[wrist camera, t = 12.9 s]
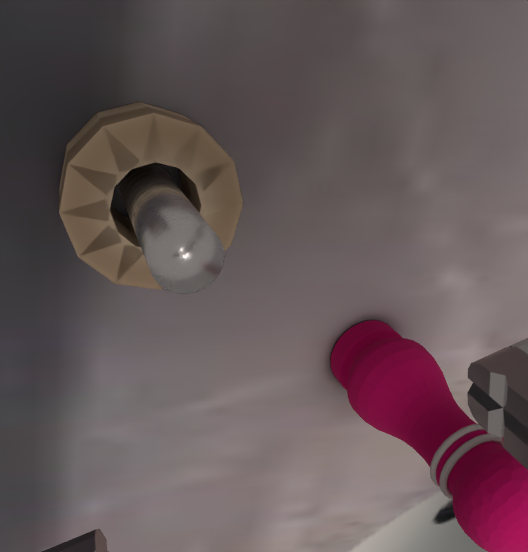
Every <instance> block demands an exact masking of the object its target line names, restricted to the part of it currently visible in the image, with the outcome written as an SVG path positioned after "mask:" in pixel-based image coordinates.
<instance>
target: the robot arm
mask: <svg viewBox="0 0 528 552" xmlns="http://www.w3.org/2000/svg"><path fill="white" fill-rule="evenodd" d="M468 378H469V379H470V380H471V381H472V382H473V384H472V386H471V388H470V389H469V391H468V406H469V408H470V410H471V413H472V415H473V417H474V418H475V420H476V421H477V422H478V424H479V425H480V426H481V427H482V428H483V429H484V430H485V431H486V432H487V433H490V434H493V435H496V436H499V437H501V438H502V443H503V448H505V449H506V450H507V451H508V452H509V453H510V454H511V455H512V456H513V457H514V458H515V459H516V460H518V461H519V462H520V463H521V464H522V465H523V466H524V467H525V468H526V469H527V470H528V338H527V339H525V340H522V341H520V342H518V343H516V344H513V345H511V346H509V347H506V348H503V349H501V350H499V351H497V352H495V353H493V354H490V355H488V356H486V357H484V358H482V359H479V360H477V361H475V362H473V363H471V365H470V366H469V368H468ZM42 552H108V551H107V541H106V538H105V536H104V535H103V533H102V532H101V530H100V529H96V530H93V531H91V532H89V533H86V534H84V535H81V536H79V537H76V538H74V539H72V540H69V541H67V542H64V543H62V544H59V545H57V546H55V547H52V548H50V549H47V550H45V551H42Z"/></svg>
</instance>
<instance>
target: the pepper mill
mask: <svg viewBox="0 0 528 552" xmlns="http://www.w3.org/2000/svg"><path fill="white" fill-rule="evenodd" d="M331 370H332V372H333V374H334V376H335V377H336V378H337V380H338V381H339V382H340V383H341V384H342V386H343V387H344V388H345V389H346V390H347V393H348V399H349V402H350V404H351V406H352V408H353V409H354V410H355V411H356V413H357V414H358V415H359V416H360V417H361V418H362V419H363V420H364V421H365V422H367V423H368V424H370V425H371V426H373V427H374V428H376V429H378V430H380V431H382V432H385V433H387V434H390V435H392V436H394V437H397V438H399V439H401V440H403V441H404V442H406V443H407V444H408V445H410V446H411V447H413V448H414V449H415V450H416V451H417V452H418V453H419V454H420V455H421V456H422V457H423V458H424V460H425V461H426V462H427V464H428V465H429V466H430V475H431V479H432V481H433V482H434V483H435V484H436V485H437V486H439V487H440V489H441V491H442V492H443V494H444V495H445V496H447V497H448V498H451V499H453V509H454V513H455V516H456V519H457V521H458V523H459V525H460V526H461V527H462V529H463V530H464V532H465V533H466V534H467V535H468V536H469V537H470V538H471V539H472V540H473V541H474V542H475V543H476V544H477V545H478V546H480V547H481V548H483V549H485V550H486V551H488V552H528V470H527V469H526V468H525V467H524V466H523V465H522V464H521V463H520V462H519V461H518V460H516V459H515V458H514V457H513V456H512V455H511V454H510V453H509V452H508V451H507V450H506V449H505V448H503V443H502V438H501V437H499V436H496V435H493V434H490V433H487V432H486V431H485V430H484V429H483V428H482V427H481V426H480V425H479V424H476V423H475V422H474V421H472V420H471V419H470V418H469V417H468V416H467V415H466V414H465V413H464V412H463V411H462V410H461V409H460V407H459V406H458V405H457V403H456V402H455V400H454V398H453V396H452V394H451V392H450V390H449V388H448V385H447V383H446V380H445V378H444V375H443V373H442V371H441V369H440V367H439V366H438V364H437V362H436V361H435V359H434V358H433V357H432V355H431V354H430V353H429V352H428V351H427V350H426V349H425V348H424V347H423V346H422V345H420V344H419V343H417V342H415V341H413V340H409V339H404V338H402V337H401V336H400V335H399V334H398V333H397V332H396V331H395V330H394V329H392V328H391V327H390V326H389V325H388V324H386V323H384V322H381V321H376V320H372V321H365V322H362V323H359V324H357V325H355V326H353V327H352V328H350V329H349V330H347V331H346V332H345V333H344V334H343V335H342V336H341V337H340V338H339V340H338V341H337V343H336V345H335V346H334V349H333V352H332V354H331Z"/></svg>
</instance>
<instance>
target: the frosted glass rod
mask: <svg viewBox="0 0 528 552" xmlns="http://www.w3.org/2000/svg"><path fill="white" fill-rule="evenodd" d="M118 189H119V193H120V195H121V198H122V200H123V203H124V205H125V208H126V210H127V213H128V216H129V218H130V221H131V223H132V226H133V228H134V231H135V233H136V236H137V238H138V241H139V244H140V246H141V249H142V251H143V254H144V256H145V259H146V261H147V264H148V267H149V269H150V272H151V274H152V276H153V278H154V279H155V281H156V282H157V283H158V284H159V285H160V286H161V287H163V288H164V289H166V290H168V291H171V292H174V293H179V294H188V293H193V292H197V291H199V290H202V289H203V288H205V287H207V286H208V285H210V284H211V283H212V282H213V281H214V280H215V279H216V278H217V276H218V275H219V273H220V271H221V269H222V266H223V263H224V248H223V245H222V242H221V240H220V238H219V237H218V236H217V234H216V233H215V232H214V231H213V229H212V228H211V227H210V226H209V224H208V223H207V222H206V221H205V219H204V218H203V217H202V216H201V214H200V213H199V212H198V211H197V210H196V208H195V207H194V206H193V205H192V203H191V202H190V201H189V200H188V198H187V197H186V196H185V195H184V193H183V192H182V191H181V190H180V189H179V187H178V186H177V185H176V184H175V182H174V181H173V180H172V179H171V177H170V176H169V175H168V174H167V172H166V171H165V170H164V169H163V168H162V167H161V166H160V165H159V164H158V163H156V162H154V163H151V164H148V165H144V166H141V167H137V168H134V169H131V170H130V171H129V172H128V173H127V174H126V175H125V176H124V178H123V179H122V180H121V181H120V182H119V183H118Z"/></svg>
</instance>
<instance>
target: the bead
mask: <svg viewBox="0 0 528 552" xmlns="http://www.w3.org/2000/svg"><path fill="white" fill-rule="evenodd" d="M154 162H156V163H161V164H165V165H169V166H173V167H177V168H178V171H179V174H180V178H181V181H182V184H181V188H180V190H181V191H182V192H183V193H184V195H185V196H186V197H187V198H188V200H189V201H190V202H191V203H192V205H193V206H194V207H195V208H196V210H197V211H198V212H199V213H200V214H201V216H202V217H203V218H204V219H205V221H206V222H207V223H208V224H209V226H210V227H211V228H212V229H213V231H214V232H215V233H216V234H217V236H218V237H219V238H220V240H221V242H222V245H223V248H224V252H225V251H226V249H227V248H228V247H229V246H230V245H231V244H232V241H233V237H234V234H235V230H236V227H237V224H238V220H239V217H240V214H241V210H242V207H243V199H242V195H241V191H240V186H239V182H238V177H237V173H236V169H235V164H234V160H233V159H232V158H231V157H230V156H229V155H228V154H227V153H226V152H225V151H224V150H223V149H222V148H221V147H220V146H219V145H218V143H217V142H216V141H215V140H214V139H213V138H212V137H211V136H210V135H209V134H208V133H207V132H206V131H205V130H204V129H203V128H202V127H201V126H200V125H198V124H196V123H195V122H193V121H192V120H190V119H188V118H187V117H185V116H183V115H182V114H179V113H176V112H173V111H169V110H166V109H162V108H159V107H156V106H152V105H149V104H145V103H142V102H136V103H132V104H129V105H125V106H121V107H117V108H113V109H109V110H105V111H102V112H98V113H96V114H95V115H94V116H93V117H92V118H91V119H90V120H89V121H88V122H87V123H86V125H85V126H84V127H83V128H82V129H81V130H80V131H79V132H78V133H77V134H76V135H75V136H74V137H73V138H72V140H71V141H70V142H69V143H68V144H67V145H66V151H65V157H64V163H63V169H62V174H61V180H60V186H59V214H60V216H61V219H62V221H63V223H64V226H65V228H66V230H67V233H68V235H69V237H70V240H71V242H72V244H73V247H74V249H75V251H76V254H77V256H78V257H79V258H80V259H82V260H83V261H84V262H86V263H87V264H89V265H90V266H91V267H93V268H94V269H96V270H97V271H98V272H100V273H101V274H102V275H104V276H105V277H107V278H108V279H109V280H111V281H112V282H114V283H115V284H121V285H128V286H136V287H143V288H151V289H159V290H161V289H163V287H161V286H160V285H159V284H158V283H157V282H156V281H155V279H154V278H153V276H152V274H151V272H150V269H149V267H148V264H147V261H146V259H145V256H144V254H143V251H142V249H141V246H140V244H139V241H138V238H137V236H136V233H135V231H134V228H133V226H132V223H131V221H130V218H126V217H124V216H123V215H122V214H120V213H119V212H118V211H117V210H116V209H114V208H113V207H112V206H111V201H112V197H113V192H114V187H115V186H116V185H117V184H118V183H119V182H120V181H121V180H122V179H123V178H124V176H125V175H126V174H127V173H128V172H129V171H130V170H131V169H134V168H137V167H141V166H144V165H148V164H151V163H154Z"/></svg>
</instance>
